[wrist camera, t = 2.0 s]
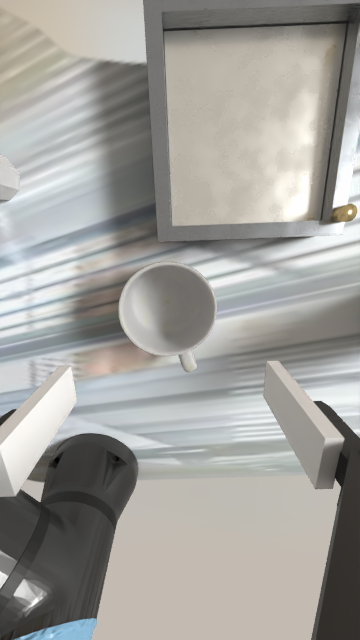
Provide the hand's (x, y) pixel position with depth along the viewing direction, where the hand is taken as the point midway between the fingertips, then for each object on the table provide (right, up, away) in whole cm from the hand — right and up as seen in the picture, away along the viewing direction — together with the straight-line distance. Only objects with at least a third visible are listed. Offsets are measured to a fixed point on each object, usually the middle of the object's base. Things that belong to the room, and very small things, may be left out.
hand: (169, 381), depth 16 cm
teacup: (0, +6, +18) cm, 19 cm away
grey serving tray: (+8, +24, +12) cm, 28 cm away
